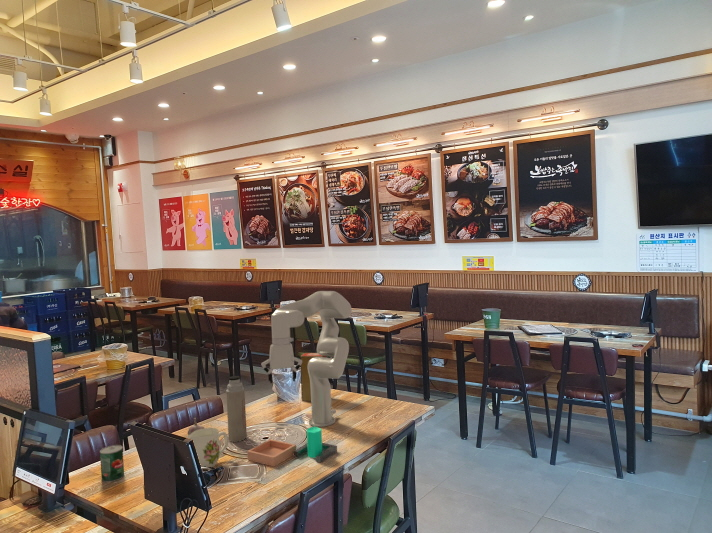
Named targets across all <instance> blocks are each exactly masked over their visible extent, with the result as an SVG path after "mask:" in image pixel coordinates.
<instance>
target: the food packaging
mask: <svg viewBox="0 0 712 533" xmlns="http://www.w3.org/2000/svg"><path fill="white" fill-rule="evenodd" d="M314 357H327V358H328V356H322V355H319V354H318V353H317V352H304V353H302V354H301V355H300V356H299V359H300V360H302V364H301V366H300V368H299V369H300V386H301V387H300V388H301V402H311V385H310V377H309V373H308V362H309V360H310V359H312V358H314Z"/></svg>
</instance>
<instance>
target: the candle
mask: <svg viewBox="0 0 712 533" xmlns="http://www.w3.org/2000/svg"><path fill="white" fill-rule="evenodd" d="M322 433H323V432H322V428H321V427H315V426H311V427H308V428H307V429H306V443H307V449H308V452H307V456H308V458H311V459H316V456H317V455H318V454H320V453H321V452H323V451H322V443H323V435H322Z"/></svg>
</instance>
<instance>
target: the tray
mask: <svg viewBox="0 0 712 533" xmlns="http://www.w3.org/2000/svg"><path fill="white" fill-rule="evenodd" d="M296 449H297V444H296V443H295V444H294V443H290V442H285V441H282V440H276V439H272V438H269V439H267V440H266V441H264V442H262V443H260V444H258V445H256V446H254V447H253V448H250V449H249V450H247V451H246V453H247V454H246V455H247V456H246V457H247V460H248V461H251V462H255V463H259V464H263V465H267V466H271V467H275V466H278V465H279V464H281V463H282V462H284V461H286V460H287V459H289V458H290V457H292V456H294V451H295V450H296Z"/></svg>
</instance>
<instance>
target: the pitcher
mask: <svg viewBox="0 0 712 533" xmlns="http://www.w3.org/2000/svg"><path fill="white" fill-rule="evenodd" d="M221 436H223V437H224V444H223V446H222V445H221V441H220V438H221ZM186 438H187V439H189V440H191V439H192V440H193V441H194V445H195V448H196V451H197V454H198V457H199V461H200V464H201V466H202V467H204V466H206V467H211V468H213V467H215V466H216V464H217V463H218V462H219V459H220V456H221V454H223V452H225V450H226V449H227V447H228V446H229V436H228V433H226V432H225V431H220V430H219V429H218V428H215V427H204V428H203V429H199V430H196V431H194V432H192V433H191V434H190V435H188V434H187V436H186ZM192 440H191V441H192ZM221 446H222V448H221Z"/></svg>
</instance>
